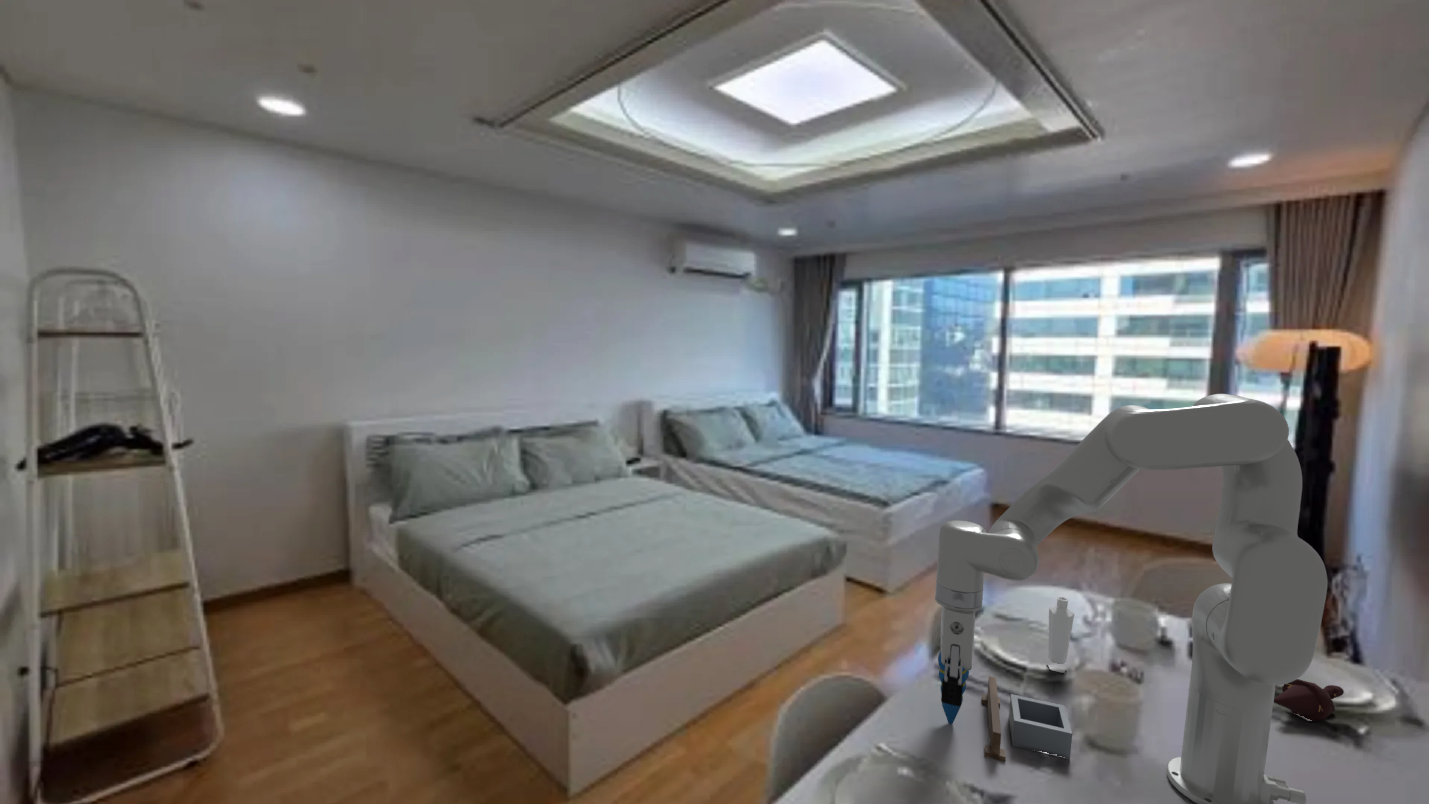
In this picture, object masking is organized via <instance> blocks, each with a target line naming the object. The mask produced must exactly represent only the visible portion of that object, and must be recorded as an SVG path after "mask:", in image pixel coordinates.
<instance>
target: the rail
mask: <svg viewBox="0 0 1429 804" xmlns="http://www.w3.org/2000/svg"><path fill="white" fill-rule="evenodd" d="M997 686H998V685H997V677H994V676H990V675H989V676H988V683H987V694H984V693H982V694H981V704H983V705H986V707H987V718H988V721H987V722H988V733H989V734H988V735H989V745H988V744H984V749H983V750H984V757H985V758H988V759H989V758H990V759H993V760H997V761H1001V762H1005V763H1006V760H1007V759H1006V749H1004V748H1001V744H1002V728H1001V727H1002V725H1001V717H1000V708H1001V699H1000V698H1001V697H999V696H998V687H997Z"/></svg>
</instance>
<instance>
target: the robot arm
mask: <svg viewBox="0 0 1429 804" xmlns="http://www.w3.org/2000/svg"><path fill="white" fill-rule="evenodd" d="M1289 434H1290V427H1289V424H1288V421H1287V419H1286V418H1285V416H1284V415H1283V414H1282V413H1281V412H1280V411H1279V410H1278V409H1277V408H1275V407H1274V406H1272V405H1271V404H1269V403H1267V402H1265V401H1261V400H1257V399H1254V398H1248V397H1244V396H1240V395H1235V394H1227V393H1216V394H1211V395H1207V396H1203V397H1202V398H1200V399H1199V400H1197V401H1196V402H1194V403H1193V404H1192V406H1187V407H1178V408H1177V407H1176V408H1175V407H1174V408H1164V409H1163V408H1161V409H1160V408H1159V409H1151V408H1148V407H1146V406H1145V407H1144V406H1142V405H1134V404H1132V405H1130V404H1129V405H1123V406H1120V407H1118V408H1116V409H1114V410H1113V411H1111V412H1110V413H1109V414H1107V415H1106V416H1105V417H1103V419H1102V420H1101V421H1100V422H1099V423H1097V425H1095V427H1094V428H1093V429H1092V430H1091V431H1090V432H1089V433H1087V435H1086V436H1085V437H1084V438H1083V439H1082V440H1081V441H1080V442H1079V443H1078V444H1077V445H1076V446H1075V447H1074V448H1073V449H1072V450H1071V451H1070V452H1069V453H1068V454H1067V455H1066V456H1065V457H1064V458H1063V459H1062V460H1061V461H1060V462H1059V463H1058V464H1057V465H1056V466H1055V467H1054V468H1053V469H1052V470H1051V471H1050V472H1049V473H1047V474H1046V475H1044V476H1043V477H1042V478H1040V480H1039V481H1038V482H1036V483H1035V484H1034V485H1032V486H1031V487H1030V488H1029V489H1027V491H1026V490H1025V491H1026V492H1024V493H1022V495H1021V496H1020V497H1019V498H1017V499H1016V500H1015V501H1014V502H1013V503H1012V504H1011V506H1009V507H1008V508H1007V509H1006V510H1005V511H1004V512H1003V514H1002V515H1000V516H999V518H998V519H997V520H996V521H995V522H994V523H993V524H992V526H991V527H990V529H989V530H988V532H987V531H986V529H985V528H984V527H983V526H982V525H980V524H978V523H976V522H971V521H966V520H957V519H956V520H955V519H953V520H948V521H945V522H944V523H942V525H941V526H940V527H939V533H938V534H939V535H938V537H939V538H938V547H937V548H938V549H937V565H936V575H935V576H936V580H935V590H934V591H935V593H934V600H935V603H937V604H938V605H940V606H941V615H940V651H941V662H942V664H943V665H945V675H944V679H943V681H942V683H941V684H942V694H941V695H940V700H941V703H942V702H943V703H946V704H951V705H955V706H961V707H962V705H961V702H962V703H963V701H962V689H963V683H962V669H963V667H964V669H968V670H969V671H971V670H972V669H973V654H974V642H975V641H974V640H975V631H976V630H975V625H976V612H978V611H980V610H982V607H983V600H984V599H983V597H984V596H983V595H984V584H985V583H984V582H985V574H988V575H991V576H995V577H998V578H1000V579H1004V580H1008V581H1013V582H1014V581H1015V582H1019V581H1026V580H1028V579H1030V578H1031V577H1033V576H1034V575H1035V574H1036V572H1037V571H1038V568H1039V566H1040V557H1039V556H1040V554H1039V551H1038V545H1039V544H1040V543H1041V542H1042V541H1043V540H1044V539H1046V537H1048V536H1049V535H1050V534H1051V533H1052V532H1053V531H1054V530H1055V529H1057V528H1058V527H1059V526H1061V524H1063V523H1064V522H1066V521H1067V520H1069V519H1071V518H1074V517H1076V516H1079V515H1085V514H1089V513H1093V512H1094V511H1097V510H1099V509H1101V508H1102V507H1103V506H1104V505H1105V504H1106V503H1107V502H1108V501H1109V500H1110V499H1111V498H1113V497H1114V495H1115V494H1116V493H1118V492H1119V491H1120V489H1122V488H1123V487H1124V486H1125V485H1126V484H1127V483H1128V482H1129V481H1131V480H1132V478H1133V477H1134V476H1135V475H1136V474H1138V473H1139V472H1140V470H1143V471H1171V470H1172V471H1173V470H1189V469H1190V470H1191V469H1202V468H1217V467H1221V471H1222V486H1221V487H1222V488H1221V489H1222V490H1221V499H1220V504H1219V509H1218V515H1217V521H1216V526H1215V532H1214V536H1213V540H1212V546H1211V547H1212V555H1213V558H1214V560H1215V561H1216V563H1217V565H1218V566H1219V567H1220V569H1222V571H1224V572H1225V573H1226V574H1227V575H1228V576H1229V577H1230V579H1231V582H1228V583H1225V582H1224V583H1217V584H1213V585H1211V586H1209V587H1208V588H1205V590H1203V591H1202V592H1201V593H1200V594H1199V595H1198V597H1197V599H1196V600H1195V602H1194V605H1193V609H1192V618H1191V622H1192V623H1191V626H1192V627H1191V629H1192V656H1191V657H1192V658H1191V668H1190V669H1191V670H1190V680H1189V686H1188V695H1187V704H1186V711H1185V712H1186V713H1185V721H1184V729H1183V738H1182V746H1181V747H1182V748H1181V749H1182V750H1181V756H1178V757H1173V758H1172V759H1170V760H1169V761H1168V762H1167V767H1166V775H1167V778H1168V780H1169V781H1170V783H1171V784H1172V785H1173V786H1174V787H1175V788H1176V789H1177V790H1178V791H1179V792H1180V793H1181V794H1182V795H1183V796H1185V797H1186V798H1187V799H1188V800H1191V801H1192V802H1194V803H1195V804H1275V802H1274V801H1278V800H1279V799H1280V800H1284V801H1287V802H1290V803H1294V804H1307V796H1306V793H1305V791H1304V790H1302V789H1300V788H1295V787H1291V786H1287V783H1286V780H1285V778H1284V777H1279V776H1278V777H1277V776H1274V775H1268V774H1266V773H1265V769H1266V762H1267V754H1268V753H1267V752H1268V748H1269V747H1268V746H1269V740H1270V732H1271V731H1270V730H1271V724H1272V715H1273V709H1274V704H1275V703H1274V698H1275V697H1276V696H1275V695H1276V694H1275V693H1276V686H1284V684H1287V683H1290V682H1292V681H1295V680H1296V679H1299V678H1301V677H1302V676H1303V675H1304V674H1305V673H1306V672H1307V671H1308V670H1309V668H1310V666H1311V664H1312V661H1313V658H1314V656H1315V652H1316V649H1317V646H1318V645H1317V643H1318V639H1319V635H1320V630H1321V625H1322V619H1323V615H1324V610H1325V604H1326V600H1327V599H1326V598H1327V591H1328V574H1327V570H1326V567H1325V563H1324V561H1323V560H1322V558H1321V556H1320V555H1319V553H1318V552H1317V551H1316V550H1315V549H1314V548H1313V546H1312V545H1310V544H1309V543H1308V542H1306V541H1305V540H1303V539H1302V538H1300V537H1299V535H1298V528H1299V527H1298V525H1299V520H1300V519H1299V518H1300V512H1301V501H1302V492H1303V473H1302V468H1301V464H1300V461H1299V457H1298V455H1297V453H1296V451H1295V449H1294V447H1293V445H1292V444H1291V442H1290V441H1289ZM951 644H952V646H951ZM948 659H949V660H951V662H950V663H949V662H948ZM960 660H961V661H960ZM958 662H960V665H958ZM948 667H950V671H948ZM958 669H959V673H958Z"/></svg>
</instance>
